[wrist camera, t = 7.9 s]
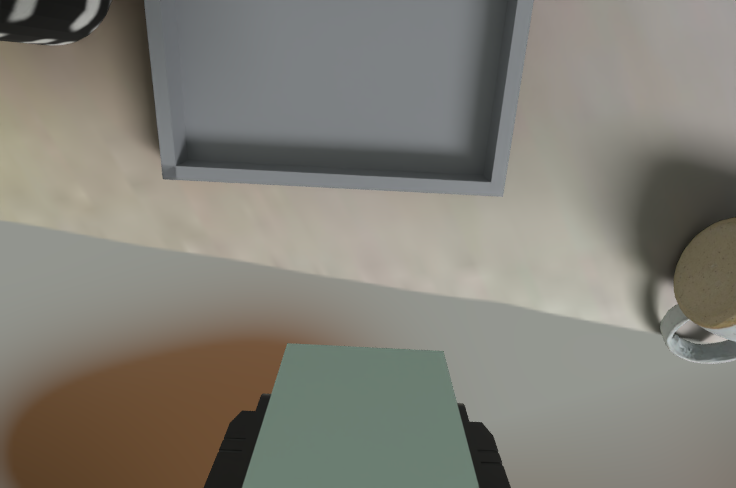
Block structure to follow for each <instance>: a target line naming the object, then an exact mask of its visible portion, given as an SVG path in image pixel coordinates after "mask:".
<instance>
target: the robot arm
mask: <svg viewBox="0 0 736 488" xmlns="http://www.w3.org/2000/svg"><path fill="white" fill-rule="evenodd" d="M270 397H271V394H262V395H261V397H260V400H259V403H258V406H257V409H256V411H241V412H240V413H239V414H238V415H237V416H236V418H234V420H232V422H230V424H229V427H228V429H227V432H226V434H225V437H224V440H223V441H222V444H221V447H220V449H219V452H218V454H217V456H216V459H215V461H214V464H213V466H212V469H211V471H210V473H209V476H208V478H207V481H206V483H205V486H204V488H242V486H243V483H244V480H245V477H246V474H247V470H248V467H249V464H250V461H251V458H252V455H253V451H254V448H255V445H256V442H257V439H258V435H259V432H260V429H261V426H262V423H263V420H264V416H265V413H266V410H267V407H268V404H269V400H270ZM457 405H458V409H459V413H460V416H461V420H462V424H463V428H464V432H465V436H466V439H467V443H468V447H469V451H470V455H471V459H472V462H473V466H474V470H475V474H476V478H477V481H478V485H479V488H511V487H510V484H509V482H508V478H507V476H506V473H505V470H504V467H503V466H502V461H501V458H500V455H499V453H498V449H497V446H496V443H495V440H494V437H493V435H492V434H491V433H490V432H489V431H488V429H487V428H486V427H485V426H484V425H483V423H482V422H469V419H468V415H467V412H466V408H465V405H464V404H461V403H457Z"/></svg>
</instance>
